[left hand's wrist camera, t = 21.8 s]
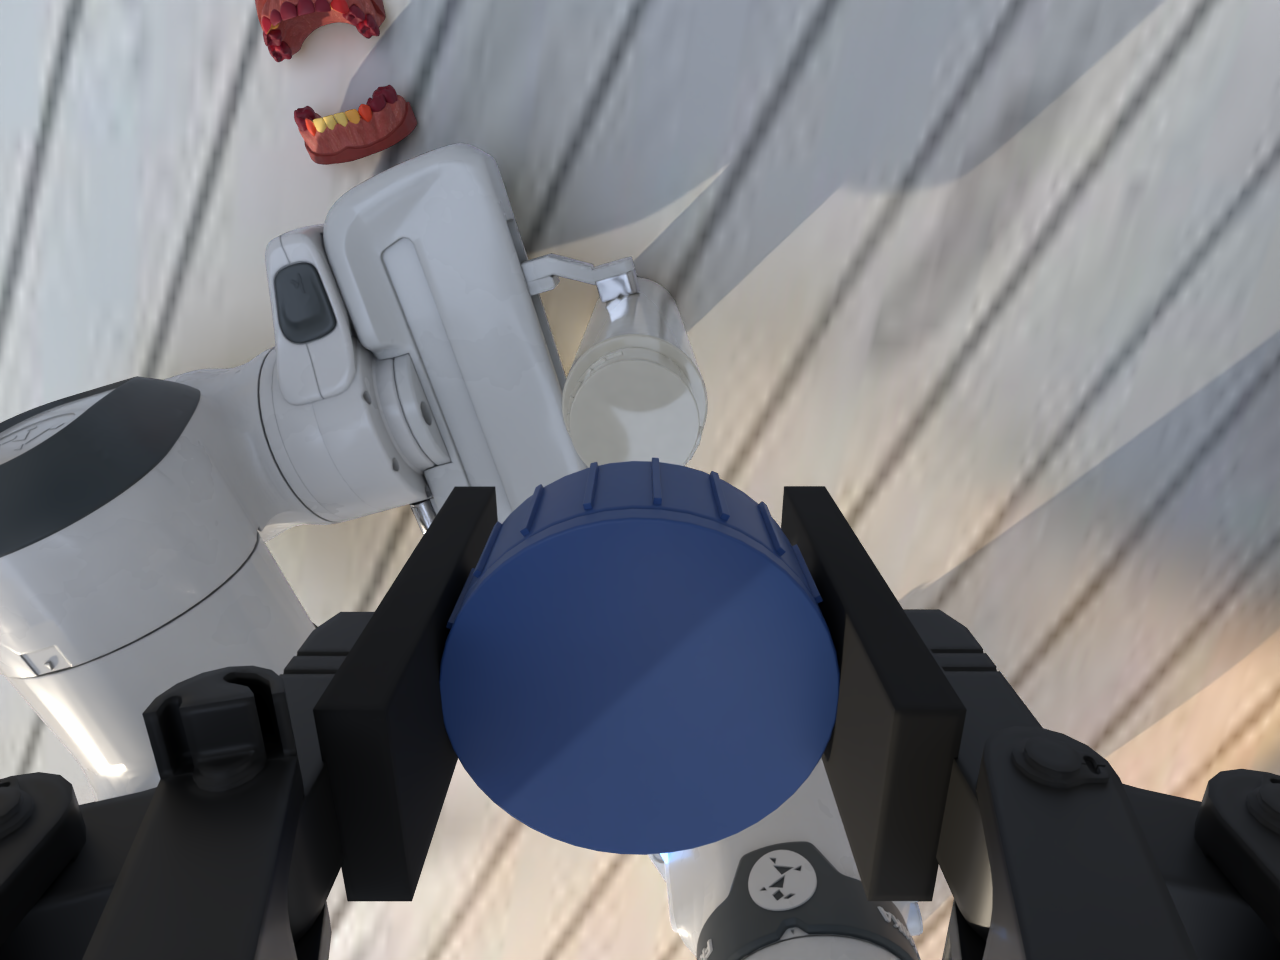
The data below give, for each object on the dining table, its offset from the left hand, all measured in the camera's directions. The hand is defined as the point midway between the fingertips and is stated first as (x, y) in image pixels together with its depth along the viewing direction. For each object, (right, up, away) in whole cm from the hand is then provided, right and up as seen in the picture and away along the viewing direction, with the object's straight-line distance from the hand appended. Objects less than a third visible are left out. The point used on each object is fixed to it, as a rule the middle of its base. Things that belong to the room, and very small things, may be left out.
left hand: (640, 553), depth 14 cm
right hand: (+1, +8, +20) cm, 22 cm away
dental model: (-14, +21, +23) cm, 34 cm away
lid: (0, -2, -4) cm, 4 cm away
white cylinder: (0, +10, +27) cm, 29 cm away
